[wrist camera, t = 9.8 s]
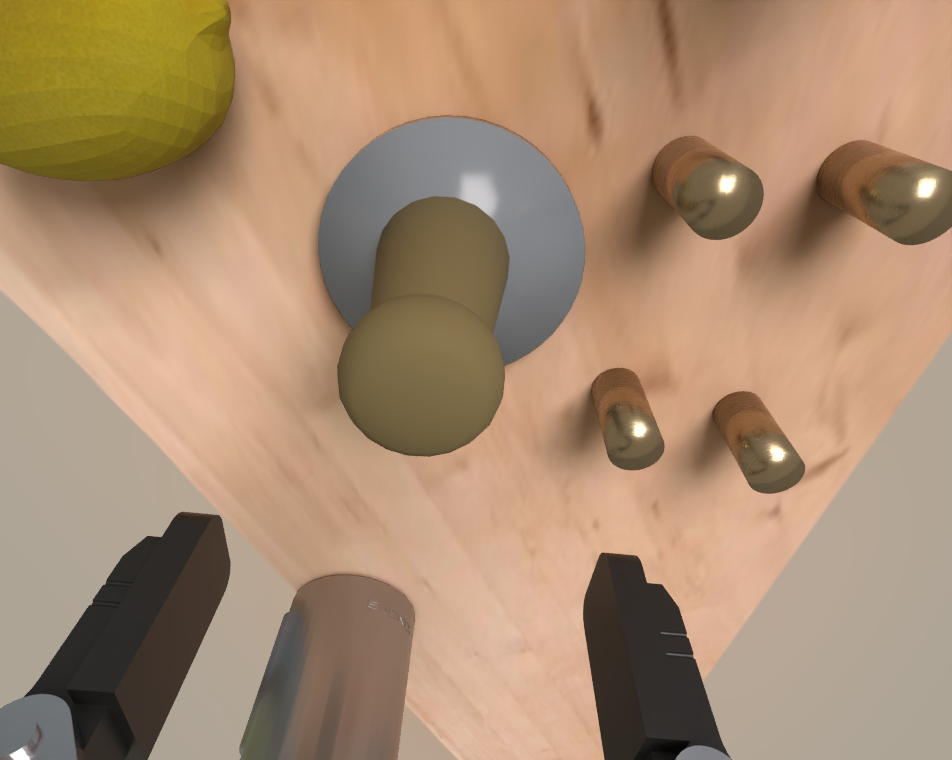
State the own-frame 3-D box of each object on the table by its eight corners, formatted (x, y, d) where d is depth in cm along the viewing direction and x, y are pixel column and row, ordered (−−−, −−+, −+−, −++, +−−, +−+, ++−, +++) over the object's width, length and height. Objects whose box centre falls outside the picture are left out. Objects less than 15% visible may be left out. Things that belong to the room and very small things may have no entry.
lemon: (237, -112, 19) (100, -175, 12) (306, 133, 23) (232, 185, 17) (-51, -59, 20) (-322, -90, 13) (67, 167, 24) (-93, 229, 18)
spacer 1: (607, 415, 31) (625, 478, 27) (582, 384, 30) (597, 445, 26) (649, 391, 30) (674, 453, 26) (624, 359, 29) (647, 418, 25)
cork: (529, 295, 26) (550, 452, 17) (415, 339, 27) (377, 506, 18) (476, 172, 23) (467, 283, 14) (351, 229, 24) (267, 364, 15)
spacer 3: (725, 436, 32) (760, 501, 27) (705, 407, 31) (738, 470, 26) (769, 413, 31) (813, 477, 27) (750, 383, 30) (792, 445, 25)
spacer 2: (670, 211, 25) (706, 253, 20) (641, 163, 23) (673, 197, 19) (725, 174, 24) (775, 210, 19) (698, 121, 22) (744, 148, 18)
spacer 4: (829, 216, 24) (898, 258, 20) (807, 168, 23) (875, 203, 19) (891, 178, 24) (976, 215, 19) (871, 126, 22) (958, 153, 18)
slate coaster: (439, 400, 31) (438, 411, 30) (270, 234, 26) (262, 242, 25) (630, 275, 26) (635, 284, 25) (472, 45, 21) (471, 47, 20)
